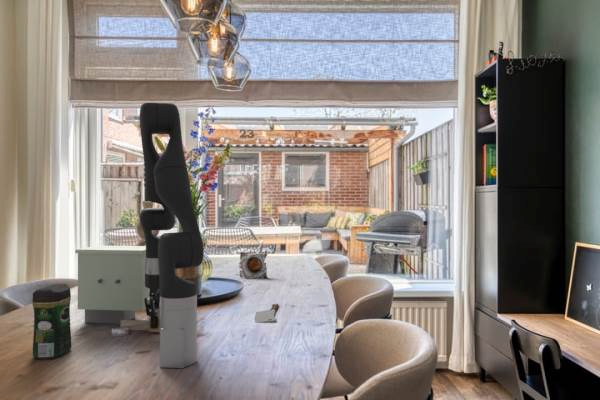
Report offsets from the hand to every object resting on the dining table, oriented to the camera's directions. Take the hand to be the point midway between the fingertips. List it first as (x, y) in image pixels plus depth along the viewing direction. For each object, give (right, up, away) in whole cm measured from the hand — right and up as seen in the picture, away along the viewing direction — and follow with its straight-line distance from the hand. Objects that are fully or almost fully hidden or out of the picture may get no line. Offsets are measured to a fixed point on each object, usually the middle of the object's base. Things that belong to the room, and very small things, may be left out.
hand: (157, 325), depth 141 cm
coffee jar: (-22, -2, -20) cm, 30 cm away
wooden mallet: (-5, -1, 0) cm, 5 cm away
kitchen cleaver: (+33, -3, +23) cm, 40 cm away
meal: (+20, -2, +98) cm, 101 cm away
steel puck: (-11, -2, -2) cm, 11 cm away
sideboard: (-17, -2, +12) cm, 21 cm away
